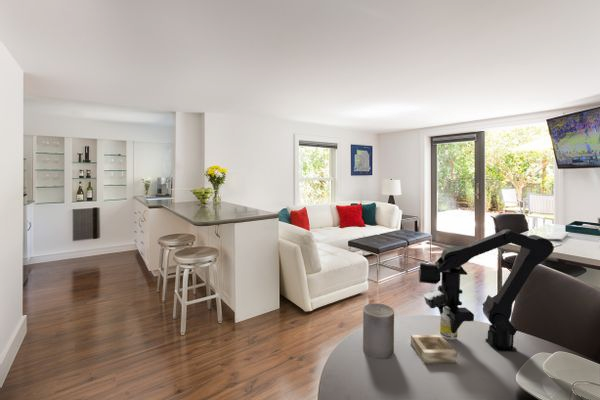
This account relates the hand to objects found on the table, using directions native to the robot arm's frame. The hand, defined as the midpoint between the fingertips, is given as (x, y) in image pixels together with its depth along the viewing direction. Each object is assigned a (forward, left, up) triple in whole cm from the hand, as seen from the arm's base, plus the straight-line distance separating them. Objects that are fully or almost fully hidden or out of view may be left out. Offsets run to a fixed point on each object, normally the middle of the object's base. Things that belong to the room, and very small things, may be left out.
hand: (448, 328), depth 102 cm
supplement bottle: (0, 0, -3) cm, 3 cm away
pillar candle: (+27, +7, -4) cm, 28 cm away
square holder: (+10, +9, -3) cm, 14 cm away
